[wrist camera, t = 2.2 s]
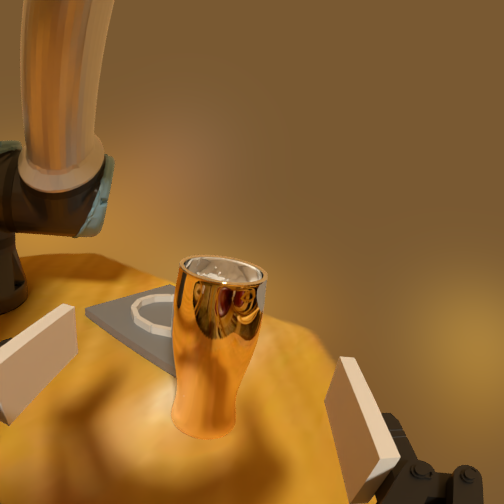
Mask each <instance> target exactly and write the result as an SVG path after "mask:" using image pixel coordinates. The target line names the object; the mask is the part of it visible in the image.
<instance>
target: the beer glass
mask: <svg viewBox="0 0 504 504" xmlns="http://www.w3.org/2000/svg"><path fill="white" fill-rule="evenodd" d="M179 265H180V266H179V272H178V277H177V282H176V287H175V293H174V299H173V307H172V319H171V336H172V348H173V356H174V363H175V370H176V377H177V390H176V391H177V392H176V397H175V400H174V403H173V406H172V410H171V417H172V421H173V423H174V424H175V426H176V427H177V428H178V429H179V430H180V431H181V432H183V433H185V434H186V435H189V436H191V437H194V438H198V439H206V440H209V439H217V438H220V437H223V436H225V435H227V434H228V433H230V432H231V431H232V429H233V428H234V426H235V423H236V408H235V401H236V395H237V391H238V388H239V386H240V383H241V381H242V379H243V377H244V374H245V372H246V370H247V367H248V365H249V363H250V360H251V358H252V355H253V352H254V350H255V347H256V344H257V341H258V336H259V332H260V328H261V323H262V317H263V309H264V302H265V292H266V283H267V278H268V275H267V273H266V271H265V270H263V269H262V268H260V267H259V266H257V265H255V264H252V263H249V262H246V261H243V260H239V259H235V258H230V257H224V256H216V255H196V256H189V257H186V258H184V259H182V260H181V261H180V263H179Z"/></svg>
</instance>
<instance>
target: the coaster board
mask: <svg viewBox="0 0 504 504" xmlns="http://www.w3.org/2000/svg"><path fill="white" fill-rule="evenodd" d="M174 293H175V286H172V285H166V286H163V287H159V288H156V289H152V290H148V291H145V292H141V293H138V294H134V295H131V296H127V297H123V298H120V299H116V300H113V301H109V302H105V303H102V304H98V305H95V306H91V307H87V308H85V315H86V316H87V317H88V318H89V319H91V320H92V321H93V322H94V323H96V324H97V325H98V326H100V327H101V328H103V329H104V330H105V331H107V332H108V333H109V334H111V335H112V336H114V337H115V338H116V339H118V340H119V341H121V342H122V343H123V344H125V345H126V346H128V347H129V348H131V349H132V350H134V351H135V352H137V353H138V354H140V355H141V356H143V357H144V358H146V359H147V360H149V361H150V362H152V363H153V364H155V365H156V366H158V367H160V368H161V369H163V370H164V371H166V372H168V373H169V374H171V375H173V376H174V377H176V370H175V363H174V356H173V348H172V336H171V319H172V307H173V299H174ZM176 378H177V377H176Z"/></svg>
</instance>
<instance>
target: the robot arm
mask: <svg viewBox="0 0 504 504" xmlns="http://www.w3.org/2000/svg"><path fill="white" fill-rule="evenodd" d="M114 1H115V0H24V2H23V13H22V25H21V49H20V74H21V99H22V113H23V123H24V133H25V141H26V145H25V146H24V147H23V149H22V146H21V142H19V141H0V314H1V313H5V312H8V311H10V310H12V309H14V308H16V307H18V306H19V305H21V304H22V303H23V302H24V301H25V300H26V298H27V295H28V291H27V280H26V277H25V274H24V271H23V268H22V265H21V262H20V259H19V256H18V254H17V250H16V246H15V233H29V234H44V235H56V236H67V237H73V238H78V237H93V236H96V235H97V234H98V233H99V232H100V231H101V229H102V226H103V222H104V218H105V213H106V208H107V201H108V197H109V193H110V188H111V183H112V177H113V171H114V164H115V161H114V158H113V157H111V156H108V155H107V154H104V148H103V144H102V142H101V140H100V139H99V138H98V137H97V136H96V135H95V134H94V125H95V113H96V103H97V94H98V86H99V79H100V71H101V64H102V59H103V53H104V47H105V41H106V37H107V32H108V27H109V22H110V17H111V13H112V9H113V4H114ZM77 354H78V347H77V335H76V321H75V307H74V306H70V305H67V304H61V305H60V306H58V307H57V308H55V309H54V310H52V311H51V312H50V313H48V314H47V315H45V316H44V317H42V318H41V319H39V320H38V321H37V322H35V323H34V324H32V325H31V326H29V327H28V328H27V329H25V330H24V331H22V332H21V333H20V334H18V335H17V336H15V337H14V338H9V339H6V340H3V341H1V342H0V421H2V422H3V423H5V424H7V425H8V426H9V425H10V424H11V423H12V422H13V421H14V420H15V419H16V418H17V417H18V416H19V414H20V413H21V412H22V411H23V410H24V409H25V408H26V407H27V406H28V405H29V404H30V403H31V401H32V400H33V399H34V398H35V397H36V396H37V395H38V394H39V393H40V392H41V391H42V390H43V389H44V388H45V387H46V385H47V384H48V383H49V382H50V381H51V380H52V379H53V378H54V377H55V376H56V375H57V374H58V373H59V372H60V371H61V370H62V369H63V368H64V367H65V366H66V365H67V364H68V363H69V362H70V361H71V360H72V359H73V358H74V357H75V356H76V355H77ZM324 402H325V406H326V410H327V414H328V418H329V422H330V426H331V430H332V434H333V438H334V442H335V446H336V450H337V454H338V458H339V462H340V466H341V470H342V475H343V479H344V483H345V487H346V492H347V496H348V500H349V504H359V503H368V502H369V501H370V500H371V498H372V497H373V496H374V495H375V496H376V499H377V503H376V504H483V485H482V477H481V474H480V473H479V471H478V470H477V469H475V468H474V467H472V466H469V465H461V466H459V467H457V468H456V469H455V471H454V472H453V473H452V474H447V473H437V472H435V471H434V469H433V468H432V466H431V465H430V464H428V463H426V462H424V461H420V460H418V459H417V457H416V455H415V453H414V450H413V448H412V446H411V444H410V443H409V440H408V439H407V437H406V434H405V432H404V431H403V430H402V426H401V425H400V423H399V421H398V420H397V419H396V418H395V417H394V416H393V415H392V414H391V413H381V412H380V411H379V408H378V406H377V404H376V402H375V400H374V398H373V395H372V393H371V391H370V389H369V387H368V385H367V383H366V381H365V379H364V377H363V374H362V372H361V371H360V368H359V366H358V364H357V362H356V360H355V358H350V357H339V360H338V363H337V366H336V369H335V372H334V375H333V378H332V381H331V384H330V387H329V389H328V392H327V395H326V398H325V400H324Z"/></svg>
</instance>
